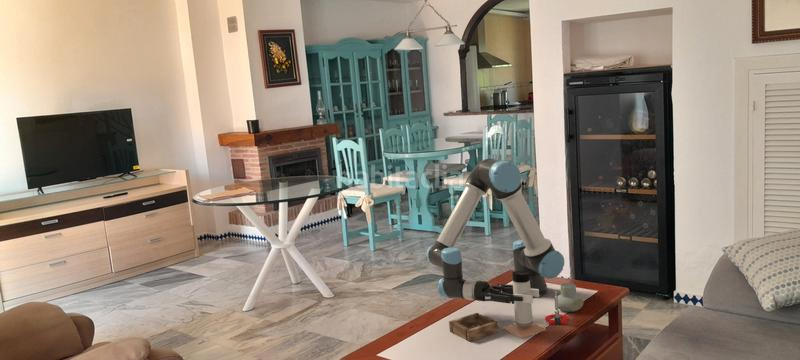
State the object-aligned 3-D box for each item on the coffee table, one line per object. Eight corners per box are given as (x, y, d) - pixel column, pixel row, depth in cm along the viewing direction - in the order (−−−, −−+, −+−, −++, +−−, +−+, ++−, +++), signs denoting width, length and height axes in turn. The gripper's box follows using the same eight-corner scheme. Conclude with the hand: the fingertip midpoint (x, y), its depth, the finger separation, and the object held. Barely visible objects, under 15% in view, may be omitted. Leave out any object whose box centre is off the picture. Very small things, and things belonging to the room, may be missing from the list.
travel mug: (511, 324, 237) (508, 272, 234) (521, 318, 242) (517, 267, 238) (526, 328, 233) (522, 275, 229) (535, 322, 237) (532, 270, 234)
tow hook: (544, 317, 249) (546, 325, 240) (542, 284, 248) (544, 291, 239) (566, 316, 248) (569, 324, 239) (565, 284, 246) (567, 290, 237)
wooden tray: (477, 322, 249) (476, 312, 248) (498, 332, 237) (497, 322, 237) (449, 331, 243) (448, 321, 242) (469, 341, 231) (468, 331, 231)
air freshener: (570, 303, 260) (569, 279, 258) (587, 308, 253) (585, 283, 252) (551, 310, 254) (550, 286, 252) (568, 315, 247) (566, 290, 246)
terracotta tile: (526, 321, 245) (526, 319, 245) (545, 330, 235) (545, 328, 235) (503, 329, 240) (503, 327, 240) (522, 338, 230) (522, 336, 230)
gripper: (487, 291, 253) (544, 297, 241) (467, 308, 237) (527, 315, 225) (486, 273, 252) (543, 278, 240) (465, 289, 236) (525, 294, 224)
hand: (535, 296), depth 233 cm, fingers closed on travel mug, 6 cm apart
